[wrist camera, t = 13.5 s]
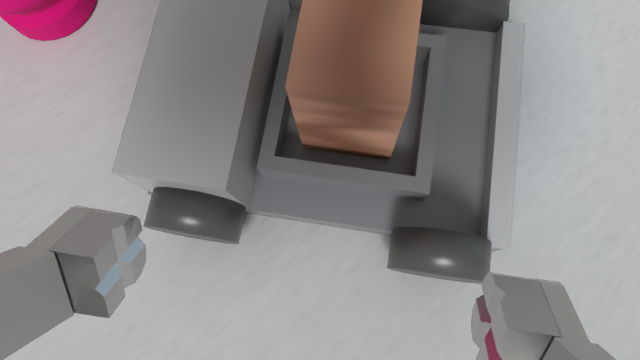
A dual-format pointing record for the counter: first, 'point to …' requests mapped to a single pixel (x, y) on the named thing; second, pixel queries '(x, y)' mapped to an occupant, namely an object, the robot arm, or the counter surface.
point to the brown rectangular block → (353, 74)
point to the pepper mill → (46, 16)
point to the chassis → (319, 166)
